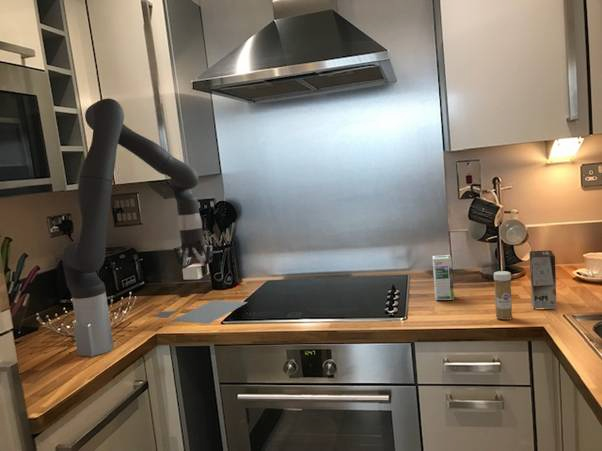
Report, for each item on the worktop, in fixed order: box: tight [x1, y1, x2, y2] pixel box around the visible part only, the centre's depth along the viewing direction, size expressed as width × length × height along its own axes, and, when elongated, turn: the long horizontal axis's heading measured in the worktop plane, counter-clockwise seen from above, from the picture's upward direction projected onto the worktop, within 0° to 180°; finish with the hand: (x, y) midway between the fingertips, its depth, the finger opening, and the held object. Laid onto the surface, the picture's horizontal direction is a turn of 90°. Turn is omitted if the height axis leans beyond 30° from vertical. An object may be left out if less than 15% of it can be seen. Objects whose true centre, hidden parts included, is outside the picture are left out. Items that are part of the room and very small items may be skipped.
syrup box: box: [431, 254, 455, 301], centre depth 169 cm, size 6×6×14 cm
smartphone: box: [153, 310, 177, 319], centre depth 178 cm, size 7×1×15 cm
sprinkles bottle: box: [493, 270, 513, 320], centre depth 145 cm, size 5×5×13 cm
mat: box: [171, 300, 248, 325], centre depth 180 cm, size 24×16×1 cm, turn 154°
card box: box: [182, 263, 210, 280], centre depth 173 cm, size 8×6×4 cm
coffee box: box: [529, 250, 557, 310], centre depth 152 cm, size 9×6×16 cm
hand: (196, 275), depth 174 cm, fingers closed on card box, 5 cm apart
